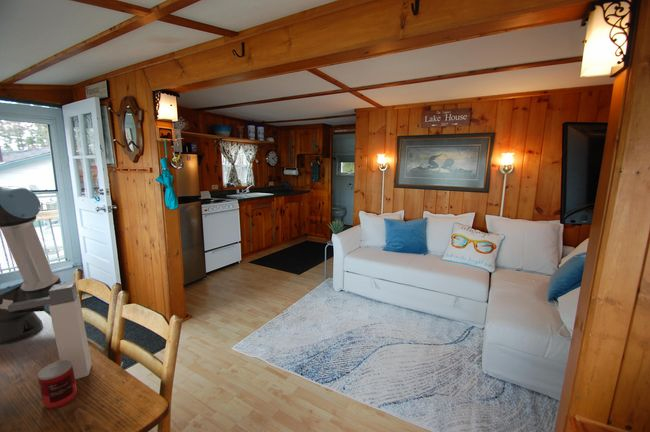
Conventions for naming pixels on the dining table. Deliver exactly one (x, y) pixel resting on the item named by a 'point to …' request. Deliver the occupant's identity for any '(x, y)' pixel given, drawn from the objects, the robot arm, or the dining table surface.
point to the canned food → (57, 384)
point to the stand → (71, 336)
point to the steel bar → (57, 296)
